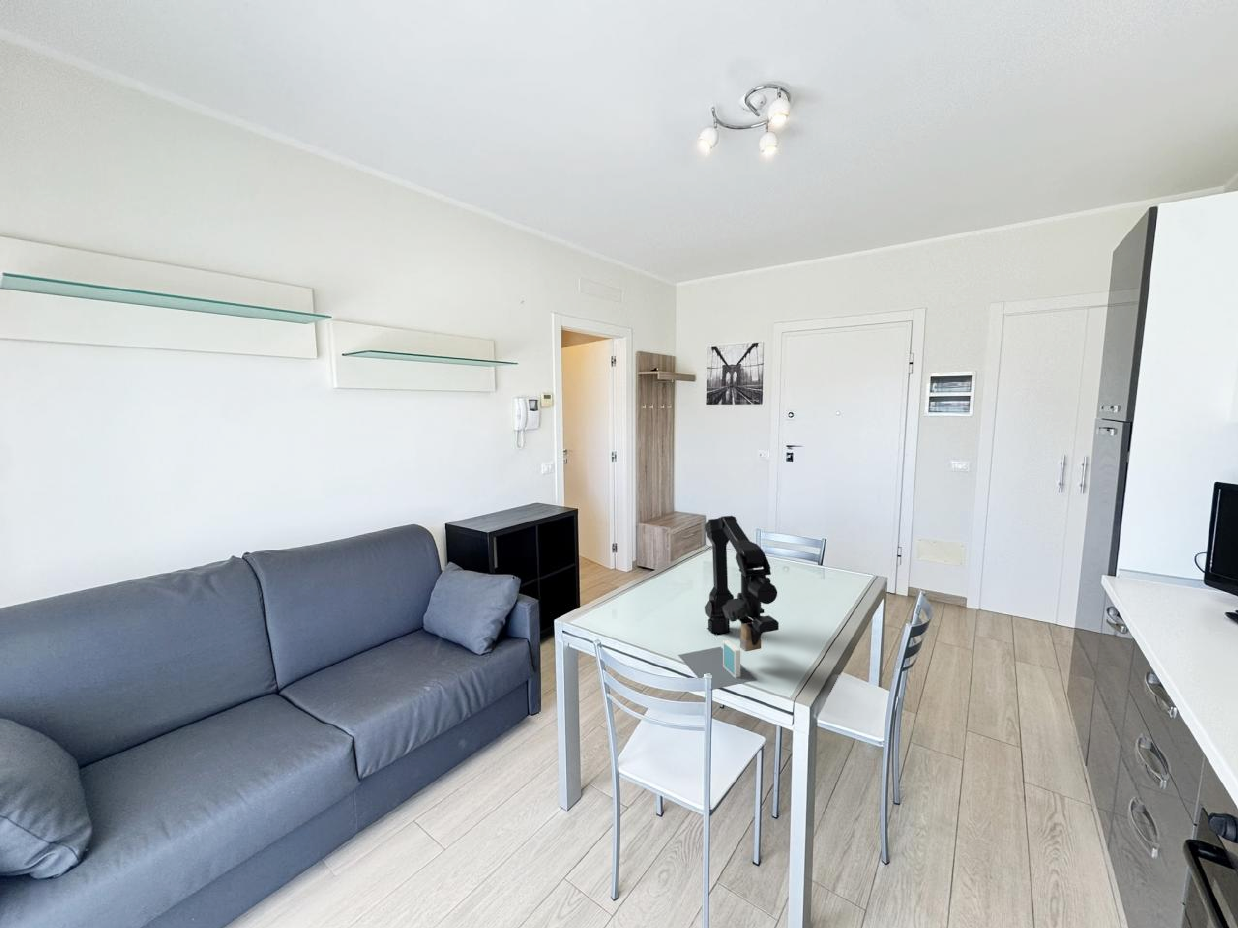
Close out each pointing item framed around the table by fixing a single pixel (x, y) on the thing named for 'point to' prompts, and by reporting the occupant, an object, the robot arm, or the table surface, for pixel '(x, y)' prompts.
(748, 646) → the block
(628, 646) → the table surface
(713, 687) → the mat
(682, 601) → the table surface
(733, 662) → the tile
